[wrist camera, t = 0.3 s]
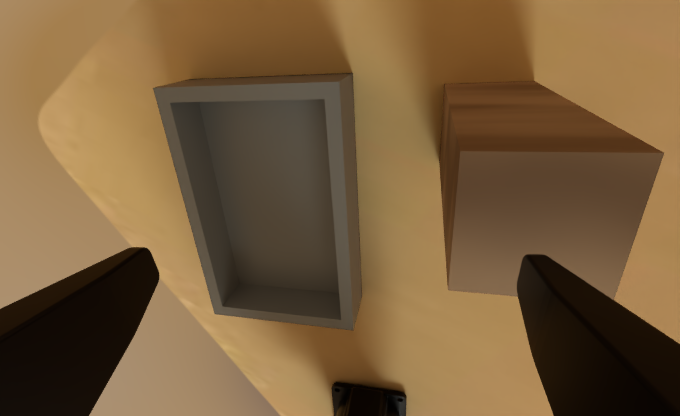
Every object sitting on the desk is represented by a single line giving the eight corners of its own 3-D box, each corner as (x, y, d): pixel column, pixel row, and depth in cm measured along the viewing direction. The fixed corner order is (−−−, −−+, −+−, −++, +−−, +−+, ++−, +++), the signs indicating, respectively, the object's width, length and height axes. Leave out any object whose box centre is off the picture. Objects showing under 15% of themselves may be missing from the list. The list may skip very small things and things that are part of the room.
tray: (361, 296, 28) (353, 330, 25) (236, 284, 30) (214, 314, 27) (352, 72, 21) (339, 81, 18) (189, 79, 23) (152, 87, 20)
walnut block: (521, 163, 21) (611, 304, 10) (439, 162, 22) (447, 290, 11) (534, 81, 19) (663, 152, 8) (444, 84, 20) (460, 151, 9)
